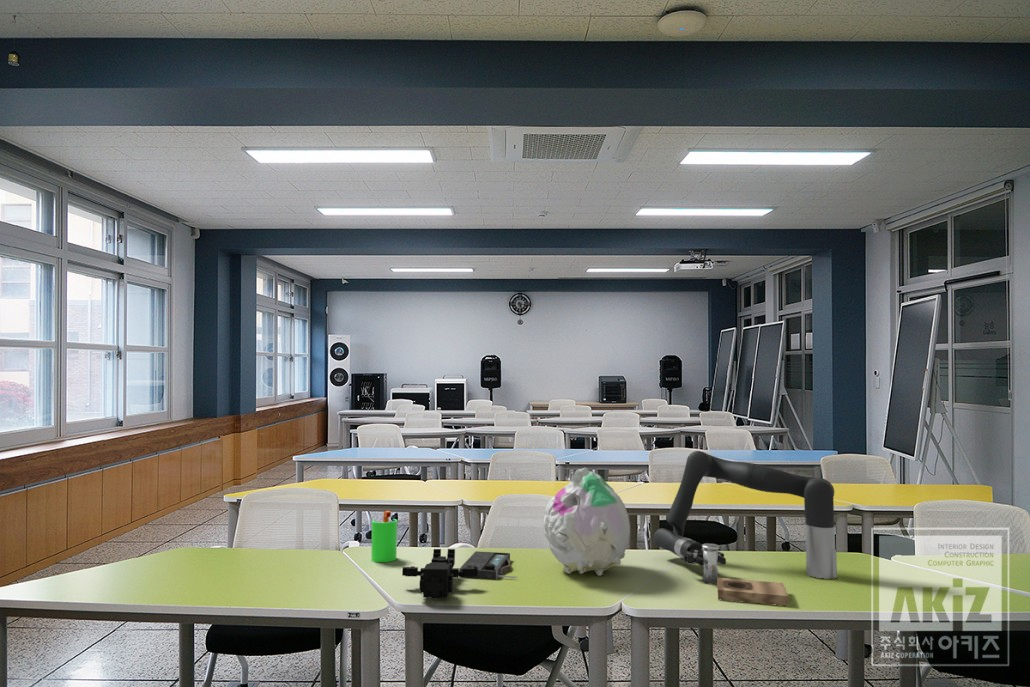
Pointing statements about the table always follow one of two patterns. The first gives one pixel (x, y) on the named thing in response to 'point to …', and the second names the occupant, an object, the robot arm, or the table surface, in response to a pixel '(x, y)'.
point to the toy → (439, 575)
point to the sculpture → (587, 524)
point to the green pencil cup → (384, 539)
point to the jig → (752, 591)
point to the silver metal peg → (710, 562)
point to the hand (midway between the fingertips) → (713, 562)
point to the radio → (489, 564)
